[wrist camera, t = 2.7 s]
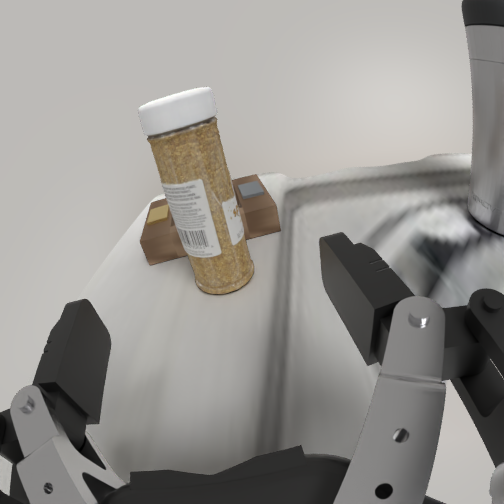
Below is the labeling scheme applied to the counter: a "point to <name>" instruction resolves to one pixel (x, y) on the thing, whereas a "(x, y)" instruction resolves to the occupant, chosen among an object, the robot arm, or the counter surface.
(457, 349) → the robot arm
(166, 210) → the brass tag
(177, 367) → the counter surface
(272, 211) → the socket block
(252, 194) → the slate tag
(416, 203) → the counter surface
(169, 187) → the sprinkles bottle
